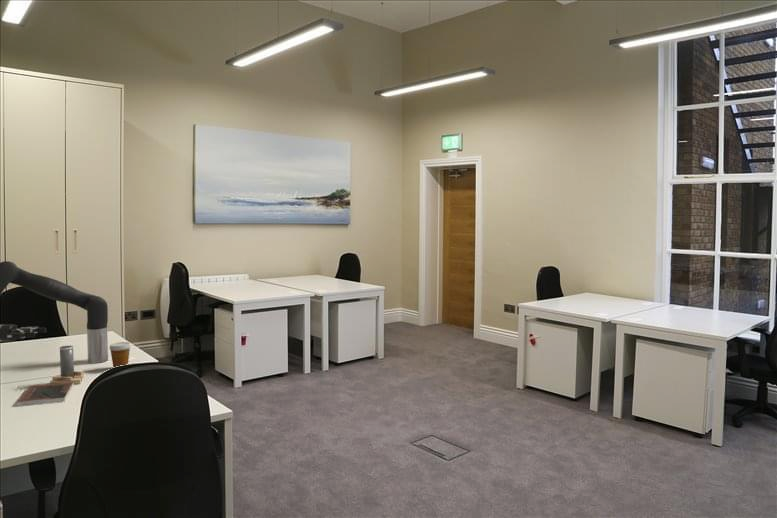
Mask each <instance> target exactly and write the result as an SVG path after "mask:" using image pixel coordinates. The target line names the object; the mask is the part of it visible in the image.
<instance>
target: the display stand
mask: <svg viewBox="0 0 777 518" xmlns="http://www.w3.org/2000/svg"><path fill="white" fill-rule="evenodd" d="M83 372H84V371H83V370H79V371H78V370H77V371H76V370H74V378H72V377H61V374H60V375H55V376H53V377H51V378H52V381H51V383H50V384H58V383H70V382H73V385H75V386H76V385H81V383H82V381H83V380H84V373H83ZM82 379H83V380H82Z"/></svg>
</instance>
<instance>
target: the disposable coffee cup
mask: <svg viewBox="0 0 777 518" xmlns="http://www.w3.org/2000/svg"><path fill="white" fill-rule="evenodd" d="M131 346H132V345H131V344H130V342H127V341H123V342H121V341H120V342H114V343H110V345H109V346H108V349H109V351H110V355H111V362H112V366H113V367H116V366H120V365H126V364H128V365H129V361H130V360H129V359H130V352H131V351H130V349H131Z"/></svg>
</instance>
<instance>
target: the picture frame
mask: <svg viewBox="0 0 777 518" xmlns="http://www.w3.org/2000/svg"><path fill="white" fill-rule="evenodd" d="M73 388H74V385H73V382H70V383H58V384H51V383H49V384H38V385H37V384H36V385H29V386H28V388H27V389H25V391H24V392H23V393H22V395H21V396H20V398H19V399H18V400H17V401H16V407H24V406H23V405H26V406H34V404H36V405H44V404H43V403H47V404H53V402H57V403H65V402H66V400H67V399H66V398H68V397H69V395H70V393H71V391H72V390H73ZM63 401H64V402H63Z"/></svg>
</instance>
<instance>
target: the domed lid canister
mask: <svg viewBox="0 0 777 518" xmlns="http://www.w3.org/2000/svg"><path fill="white" fill-rule="evenodd" d="M59 361H60V362H59V363H60V365H59V366H60V367H59V368H60V375H61V377H72V378H74V371H75V366H74V365H75V361H74V345H62V346H60V347H59Z"/></svg>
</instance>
